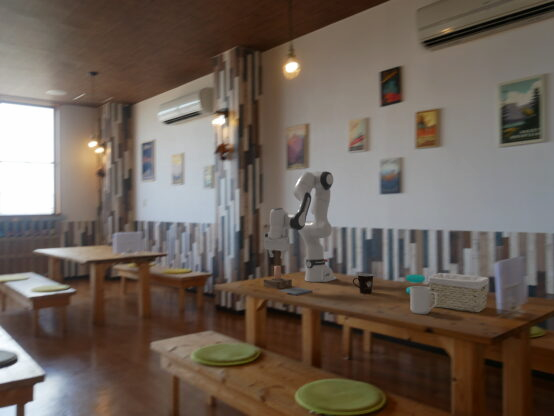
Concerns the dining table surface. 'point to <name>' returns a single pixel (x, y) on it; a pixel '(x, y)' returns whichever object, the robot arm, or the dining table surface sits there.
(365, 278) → the coffee mug
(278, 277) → the dowel pin
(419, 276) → the donuts
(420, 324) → the dining table surface
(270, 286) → the holder block
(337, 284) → the dining table surface
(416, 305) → the mug
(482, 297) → the storage basket
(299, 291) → the slate mat
